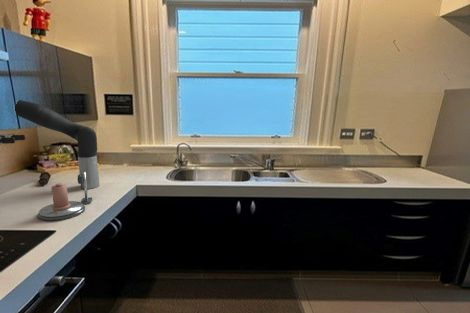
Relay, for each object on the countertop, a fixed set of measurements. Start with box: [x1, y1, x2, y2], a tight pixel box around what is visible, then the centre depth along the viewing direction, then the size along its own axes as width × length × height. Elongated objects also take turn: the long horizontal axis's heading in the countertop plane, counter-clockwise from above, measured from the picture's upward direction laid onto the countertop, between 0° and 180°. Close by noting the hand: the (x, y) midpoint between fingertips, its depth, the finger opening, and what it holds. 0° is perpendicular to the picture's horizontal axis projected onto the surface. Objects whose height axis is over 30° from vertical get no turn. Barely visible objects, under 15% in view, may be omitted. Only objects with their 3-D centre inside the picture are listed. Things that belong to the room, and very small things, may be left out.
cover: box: [50, 183, 71, 211], centre depth 117 cm, size 7×7×10 cm
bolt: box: [37, 171, 52, 187], centre depth 159 cm, size 6×5×15 cm
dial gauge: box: [77, 172, 94, 205], centre depth 129 cm, size 4×4×15 cm
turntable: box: [38, 200, 85, 218], centre depth 118 cm, size 16×16×1 cm
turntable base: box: [37, 204, 86, 222], centre depth 118 cm, size 17×17×1 cm
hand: (19, 138), depth 110 cm, fingers open, 8 cm apart
